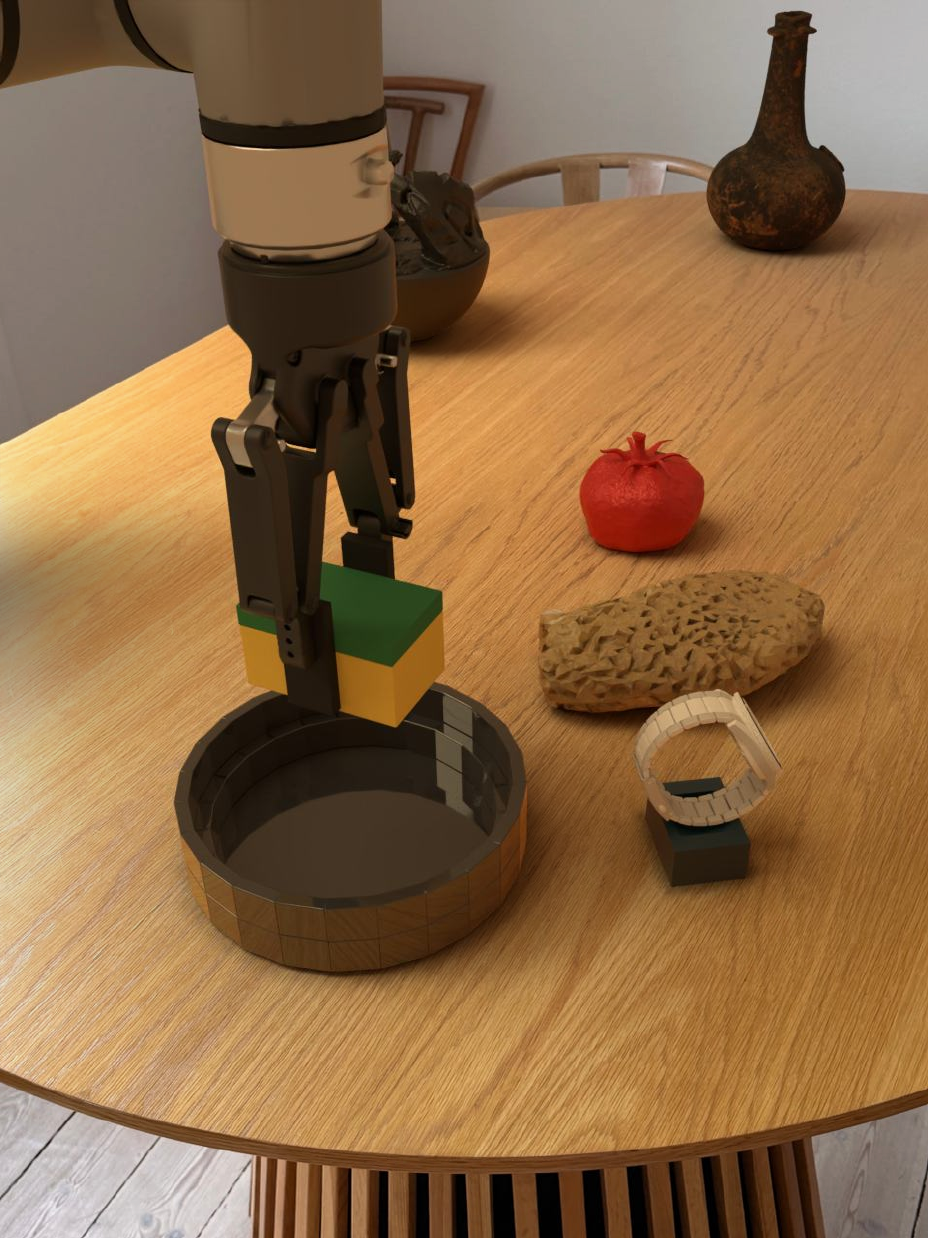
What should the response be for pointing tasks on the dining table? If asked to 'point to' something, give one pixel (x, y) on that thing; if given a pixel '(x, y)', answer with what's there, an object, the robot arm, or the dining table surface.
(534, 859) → the dining table surface
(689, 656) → the sponge
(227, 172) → the robot arm
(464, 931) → the bowl
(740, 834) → the watch
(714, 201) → the glass bottle
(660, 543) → the red tomato
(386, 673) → the dish sponge
